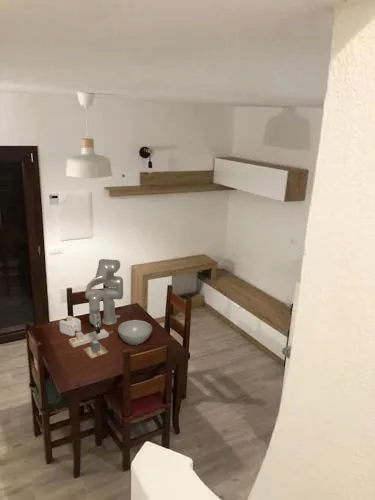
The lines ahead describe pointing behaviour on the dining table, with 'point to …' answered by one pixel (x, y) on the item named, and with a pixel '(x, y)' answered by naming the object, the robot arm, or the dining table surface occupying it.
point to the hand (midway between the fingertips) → (95, 330)
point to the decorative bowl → (134, 331)
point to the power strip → (88, 337)
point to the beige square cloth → (92, 354)
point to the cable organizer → (70, 326)
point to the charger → (95, 346)
